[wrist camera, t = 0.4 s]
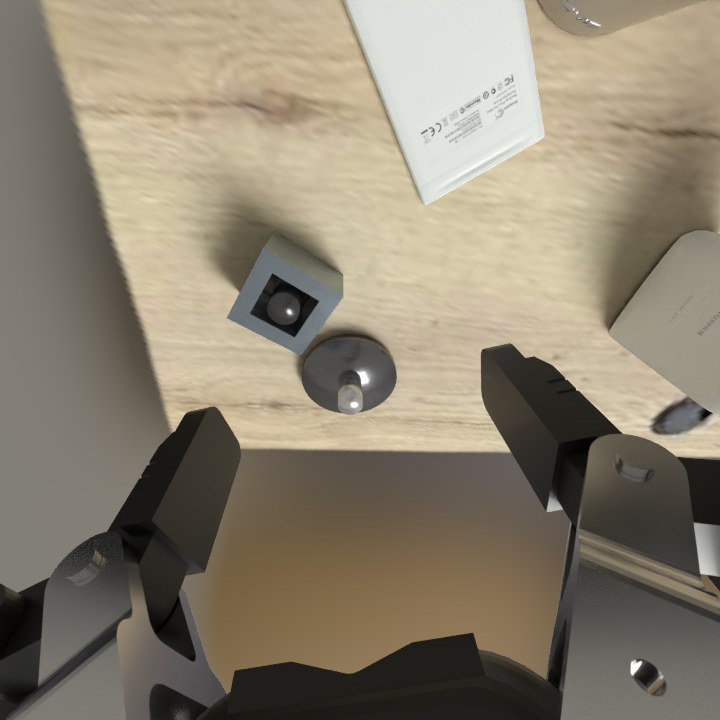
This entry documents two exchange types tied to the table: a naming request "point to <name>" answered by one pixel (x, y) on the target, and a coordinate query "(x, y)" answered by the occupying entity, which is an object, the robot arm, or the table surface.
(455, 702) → the robot arm
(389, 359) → the hub
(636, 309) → the photo printer
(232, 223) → the table surface
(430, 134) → the external hard drive
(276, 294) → the stand rod
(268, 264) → the hollow square housing
